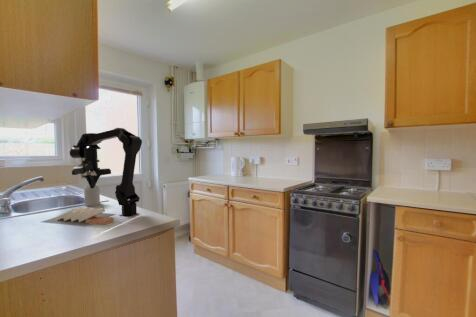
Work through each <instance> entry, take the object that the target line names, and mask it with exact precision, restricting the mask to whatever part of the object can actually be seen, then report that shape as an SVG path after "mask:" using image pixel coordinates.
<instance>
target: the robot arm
mask: <svg viewBox="0 0 476 317" xmlns="http://www.w3.org/2000/svg"><path fill="white" fill-rule="evenodd" d="M116 138H117V139H118V141H120V142H121V143H122V149H123V151H124V162H123V169H122V177H121V183H119V184H116V185H115V192H114V194H115V198H116V200H117V203H118V205H119V206H121V214H120V217H125V218H130V217H134V216H136V215H139V214H140V213H139V212H137V203H138V202H140V197H139V195H138V194H137V193H136V187H135V185H134V183H133V182H134V175H135V168H136V159H137V155H138V153H139V151H140V150H141V148H142V144H143V140H142V139H141V137H140V136H139V135H136V134H134V133H132V132H130V131H128V130H127V129H126V128H123V127H115V128H113V129H109V130H105V131H101V132H97V133H96V132H95V133H94V132H93V133H92V132H91V133H89V132H88V133H87V132H86V133H82V134H81V136H80V138H79V140H78V142H77V143H76V144H74V145H73V146H72V148H71V149H70V151H69V155H70V157H71V158H73V159H83V160H81V164H79V165H76V166H74V167H73V168H72V170H71V175H72V176H77V175H81V177H83V178H84V179H85V180H86V181H87V184H88V185H90V188H91V189H93V188H94V187H95V185H96V184H97V182H98V180H99V179H100V177H101V176H105V175H112V170H111V169H110V168H100V167H99V165H98V164H99V163H100V159H98V150H101V148H102V147H100V146H99V145H98V144H101V143H102V142H104V141H107V140H111V139H116Z"/></svg>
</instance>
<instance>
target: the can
mask: <svg viewBox="0 0 476 317" xmlns="http://www.w3.org/2000/svg"><path fill="white" fill-rule="evenodd" d="M83 192H84V194H83V196H84V197H83V200H84V206H86V207H93V206H98V205H100V204H101V194H100V193H101V192H100V186H99V184H97V183H96V185H95V187H94V188H93V189H91V188H90V185H89V184H87V185H85V186H84V188H83Z"/></svg>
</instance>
